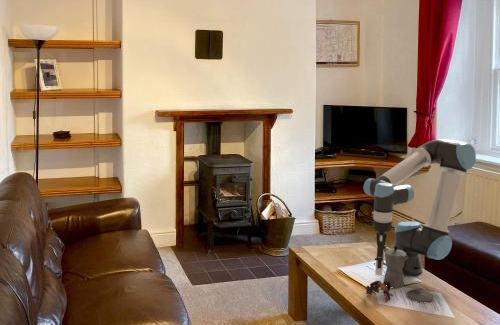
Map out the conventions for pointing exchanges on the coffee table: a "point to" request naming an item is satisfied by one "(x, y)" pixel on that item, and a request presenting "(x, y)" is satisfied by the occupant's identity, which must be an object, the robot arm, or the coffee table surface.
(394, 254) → the coffeepot
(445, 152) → the robot arm
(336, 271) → the coffee table surface
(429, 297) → the disc
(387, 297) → the pottery mug
